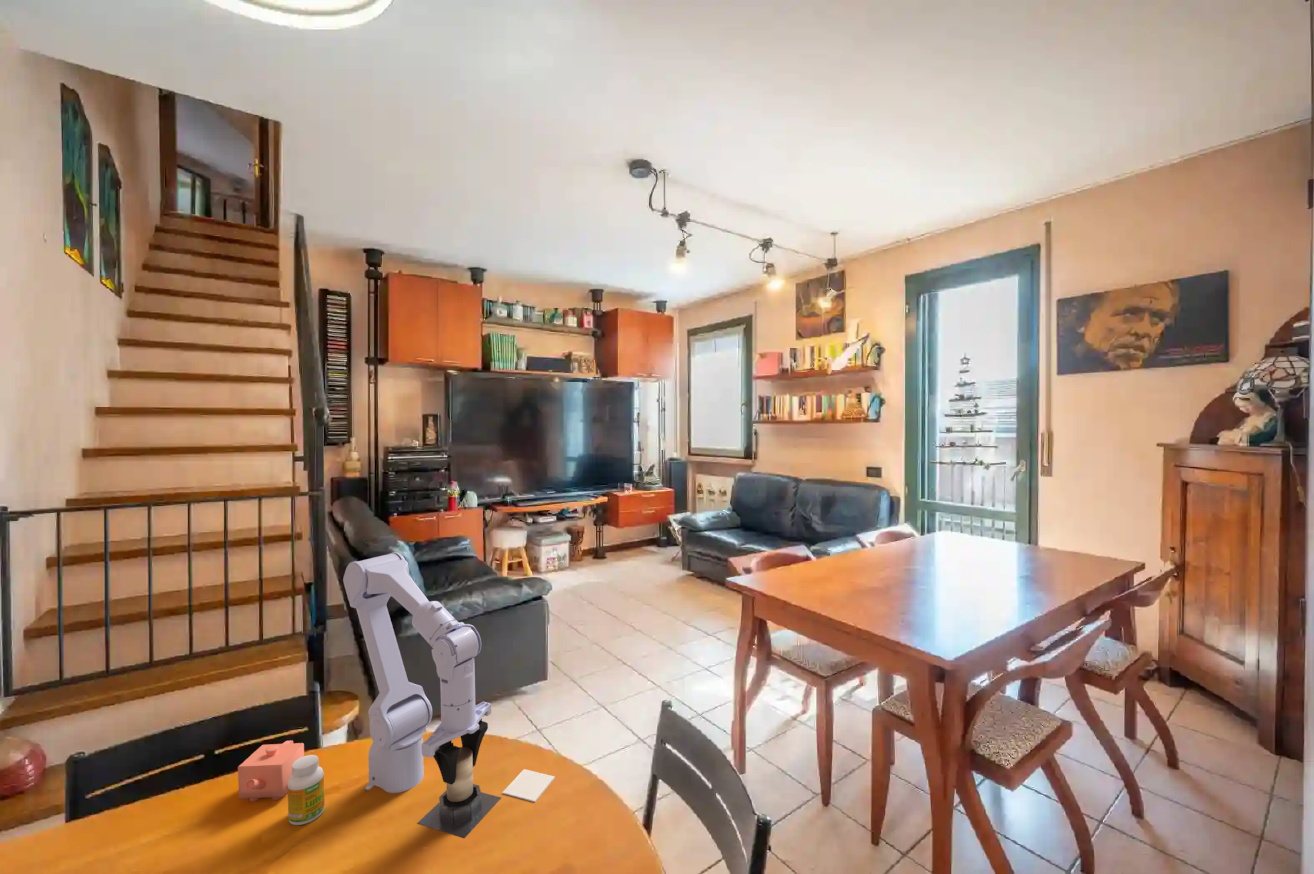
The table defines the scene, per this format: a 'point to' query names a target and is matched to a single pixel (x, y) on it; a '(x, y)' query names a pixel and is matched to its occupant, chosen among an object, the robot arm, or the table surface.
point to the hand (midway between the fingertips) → (459, 773)
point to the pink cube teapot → (268, 771)
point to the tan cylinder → (462, 777)
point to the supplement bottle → (305, 790)
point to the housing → (459, 813)
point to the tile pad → (529, 785)
